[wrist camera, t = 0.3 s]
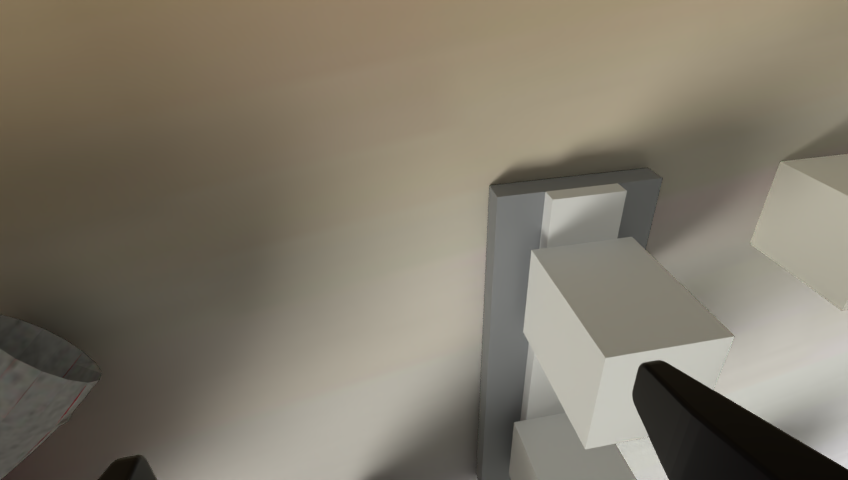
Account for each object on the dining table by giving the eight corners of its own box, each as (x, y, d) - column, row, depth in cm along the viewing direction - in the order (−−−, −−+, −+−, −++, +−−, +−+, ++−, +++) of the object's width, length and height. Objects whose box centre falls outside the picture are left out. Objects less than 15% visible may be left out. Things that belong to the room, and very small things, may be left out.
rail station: (584, 452, 36) (656, 590, 29) (476, 474, 35) (521, 623, 28) (648, 167, 25) (796, 274, 17) (489, 185, 24) (573, 307, 16)
